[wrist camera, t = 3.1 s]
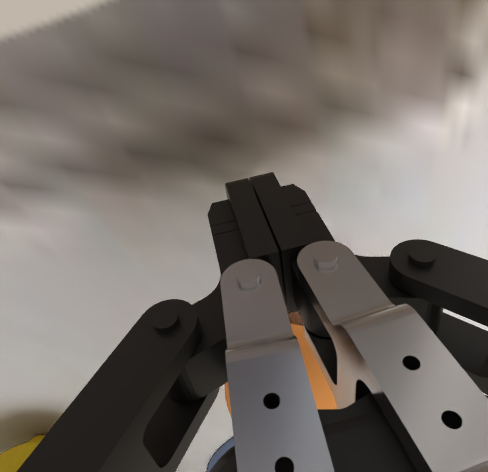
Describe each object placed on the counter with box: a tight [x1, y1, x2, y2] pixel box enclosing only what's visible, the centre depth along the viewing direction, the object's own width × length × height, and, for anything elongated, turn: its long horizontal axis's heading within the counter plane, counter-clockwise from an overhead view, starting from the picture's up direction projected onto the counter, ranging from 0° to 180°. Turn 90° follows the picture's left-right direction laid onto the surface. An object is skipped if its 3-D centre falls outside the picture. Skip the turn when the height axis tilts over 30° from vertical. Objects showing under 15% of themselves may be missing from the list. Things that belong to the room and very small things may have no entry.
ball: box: [225, 324, 337, 417], centre depth 18 cm, size 6×6×6 cm
